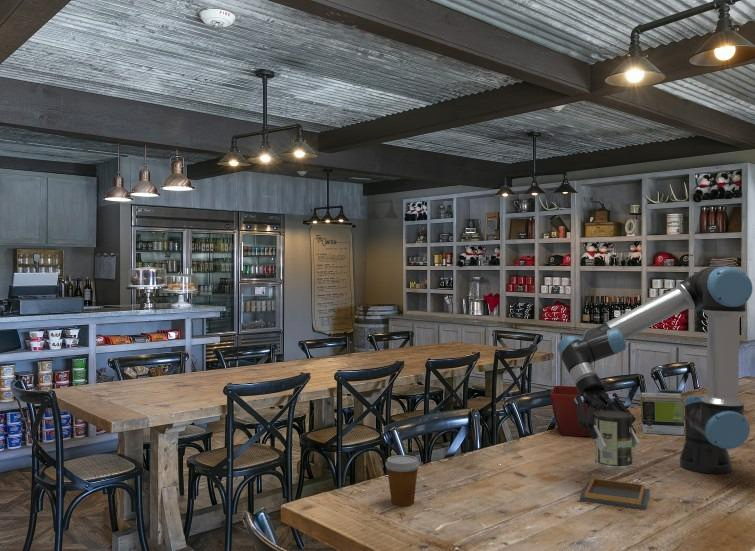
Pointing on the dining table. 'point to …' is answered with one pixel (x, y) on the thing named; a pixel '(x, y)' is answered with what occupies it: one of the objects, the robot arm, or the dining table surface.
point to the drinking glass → (671, 392)
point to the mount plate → (616, 493)
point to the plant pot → (567, 411)
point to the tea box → (662, 413)
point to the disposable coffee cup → (402, 478)
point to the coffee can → (614, 439)
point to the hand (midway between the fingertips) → (619, 446)
